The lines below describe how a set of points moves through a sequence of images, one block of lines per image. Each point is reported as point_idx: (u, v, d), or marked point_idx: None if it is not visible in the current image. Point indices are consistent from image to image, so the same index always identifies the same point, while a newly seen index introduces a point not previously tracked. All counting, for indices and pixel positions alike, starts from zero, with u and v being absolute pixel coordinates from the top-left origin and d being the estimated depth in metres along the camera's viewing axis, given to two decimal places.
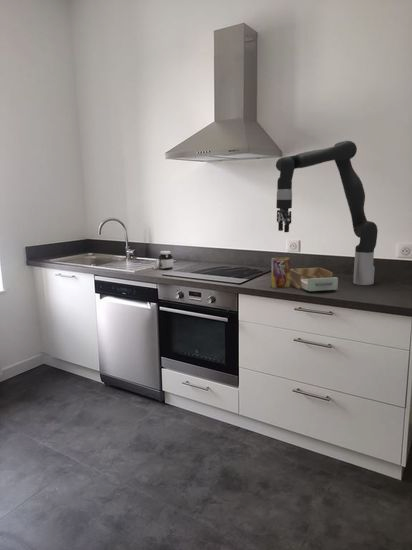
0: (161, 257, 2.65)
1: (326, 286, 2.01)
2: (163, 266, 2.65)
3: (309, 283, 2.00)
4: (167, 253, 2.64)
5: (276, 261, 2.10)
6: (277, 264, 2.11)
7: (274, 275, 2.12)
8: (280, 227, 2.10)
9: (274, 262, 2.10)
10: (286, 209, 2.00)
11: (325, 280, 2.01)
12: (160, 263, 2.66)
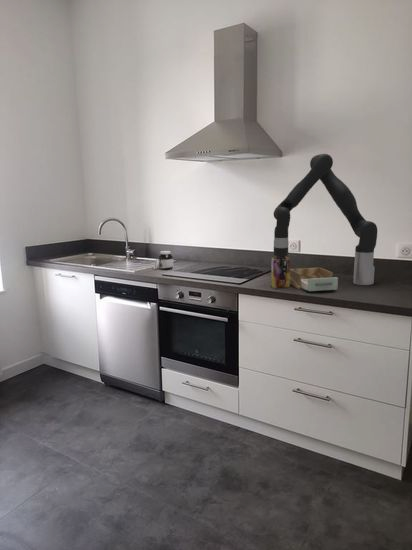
0: (161, 257, 2.65)
1: (326, 286, 2.01)
2: (163, 266, 2.65)
3: (309, 283, 2.00)
4: (167, 253, 2.64)
5: (276, 261, 2.10)
6: (277, 264, 2.10)
7: (274, 275, 2.11)
8: None
9: (274, 262, 2.10)
10: (283, 257, 2.08)
11: (325, 280, 2.01)
12: (160, 263, 2.66)
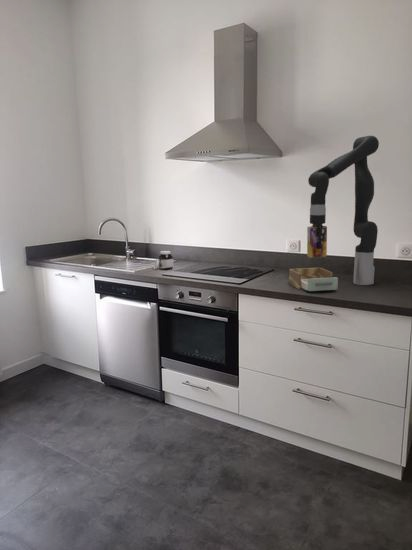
0: (161, 257, 2.65)
1: (326, 286, 2.01)
2: (163, 266, 2.65)
3: (309, 283, 2.00)
4: (167, 253, 2.64)
5: (312, 229, 2.02)
6: (314, 232, 2.02)
7: (311, 244, 2.03)
8: None
9: (311, 230, 2.02)
10: (320, 224, 2.00)
11: (325, 280, 2.01)
12: (160, 263, 2.66)
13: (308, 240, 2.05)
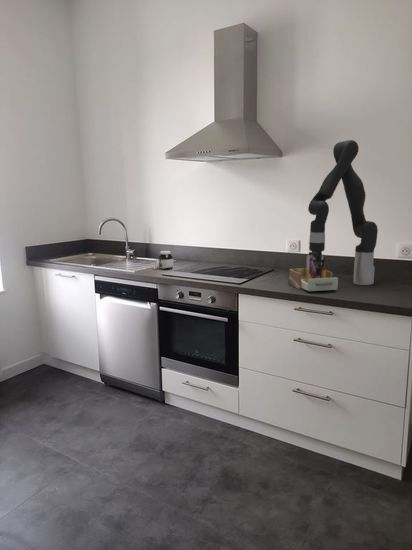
0: (161, 257, 2.65)
1: (327, 286, 2.01)
2: (163, 266, 2.65)
3: (309, 283, 2.00)
4: (167, 253, 2.64)
5: (312, 259, 2.05)
6: (313, 261, 2.05)
7: (310, 273, 2.06)
8: None
9: (310, 259, 2.05)
10: (319, 252, 2.03)
11: (325, 280, 2.01)
12: (160, 263, 2.66)
13: (307, 269, 2.08)
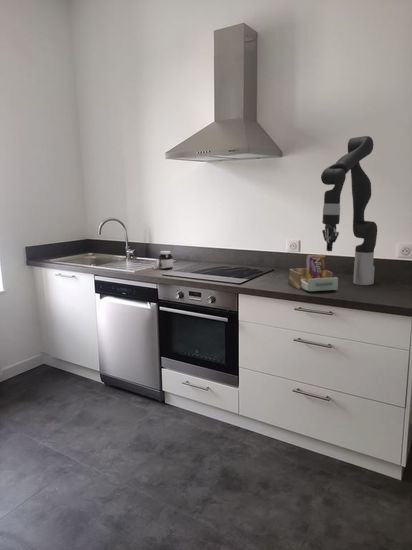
0: (161, 257, 2.65)
1: (327, 286, 2.01)
2: (163, 266, 2.65)
3: (309, 283, 2.00)
4: (167, 253, 2.64)
5: (312, 259, 2.05)
6: (313, 261, 2.05)
7: (310, 273, 2.06)
8: None
9: (310, 259, 2.05)
10: (334, 225, 1.86)
11: (325, 280, 2.01)
12: (160, 263, 2.66)
13: (307, 269, 2.08)
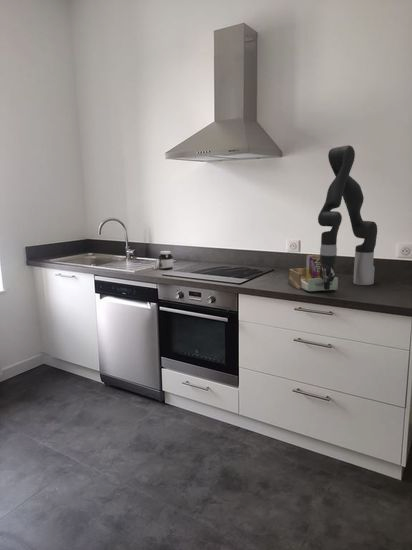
0: (161, 257, 2.65)
1: None
2: (163, 266, 2.65)
3: (309, 283, 2.00)
4: (167, 253, 2.64)
5: (312, 259, 2.05)
6: (313, 261, 2.05)
7: (310, 273, 2.06)
8: None
9: (310, 259, 2.05)
10: (331, 265, 1.92)
11: None
12: (160, 263, 2.66)
13: (307, 269, 2.08)
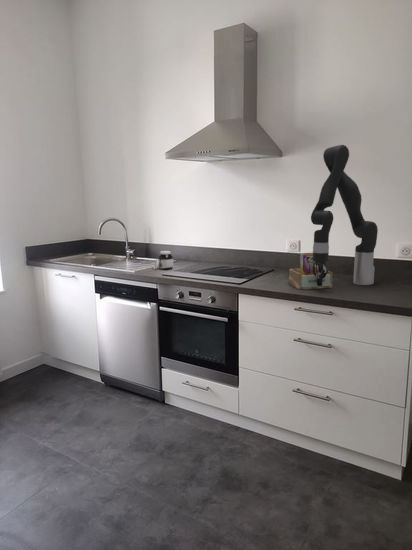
0: (161, 257, 2.65)
1: None
2: (163, 266, 2.65)
3: (303, 280, 2.07)
4: (167, 253, 2.64)
5: (305, 256, 2.13)
6: (306, 259, 2.13)
7: (304, 270, 2.14)
8: None
9: (304, 257, 2.13)
10: (323, 262, 1.99)
11: None
12: (160, 263, 2.66)
13: (301, 266, 2.16)
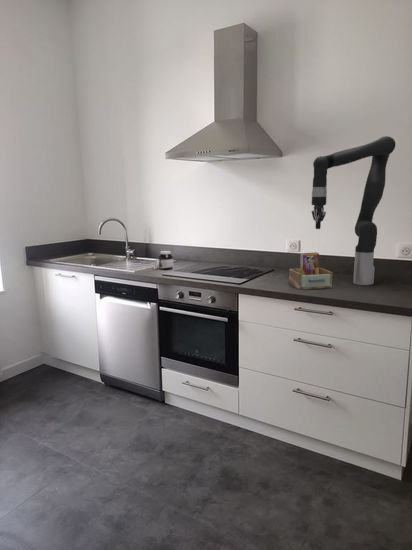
0: (161, 257, 2.65)
1: (319, 282, 2.09)
2: (163, 266, 2.65)
3: (303, 280, 2.07)
4: (167, 253, 2.64)
5: (305, 256, 2.13)
6: (306, 259, 2.13)
7: (304, 270, 2.14)
8: None
9: (304, 257, 2.13)
10: (321, 206, 2.14)
11: (318, 277, 2.08)
12: (160, 263, 2.66)
13: (301, 266, 2.16)
